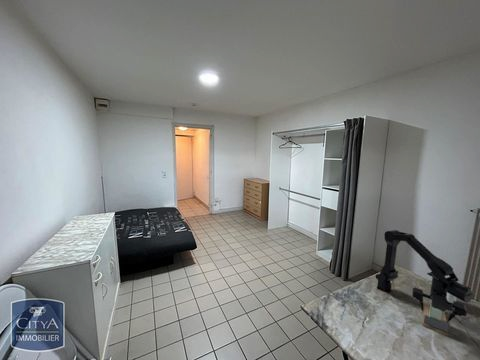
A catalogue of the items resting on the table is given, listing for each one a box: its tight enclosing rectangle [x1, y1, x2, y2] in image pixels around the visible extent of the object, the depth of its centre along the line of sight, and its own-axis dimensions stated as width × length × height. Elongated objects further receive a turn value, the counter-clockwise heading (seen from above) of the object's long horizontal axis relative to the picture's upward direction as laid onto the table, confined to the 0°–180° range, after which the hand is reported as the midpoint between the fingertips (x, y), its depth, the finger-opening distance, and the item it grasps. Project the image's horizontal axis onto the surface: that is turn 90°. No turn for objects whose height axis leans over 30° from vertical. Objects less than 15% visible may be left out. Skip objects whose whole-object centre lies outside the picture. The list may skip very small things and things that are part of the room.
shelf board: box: [421, 301, 449, 337], centre depth 101 cm, size 9×20×1 cm, turn 137°
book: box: [429, 305, 442, 321], centre depth 97 cm, size 4×8×9 cm, turn 137°
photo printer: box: [447, 292, 458, 303], centre depth 111 cm, size 10×4×12 cm, turn 123°
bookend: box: [424, 315, 449, 333], centre depth 94 cm, size 8×1×4 cm, turn 47°
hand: (435, 315), depth 98 cm, fingers open, 9 cm apart
